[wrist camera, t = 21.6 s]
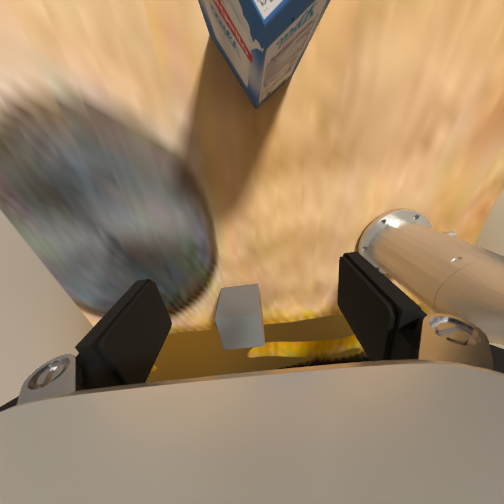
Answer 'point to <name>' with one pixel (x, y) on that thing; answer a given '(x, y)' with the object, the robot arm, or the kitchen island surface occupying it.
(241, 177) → the kitchen island surface
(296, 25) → the milk carton
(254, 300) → the gray cube
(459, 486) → the robot arm
